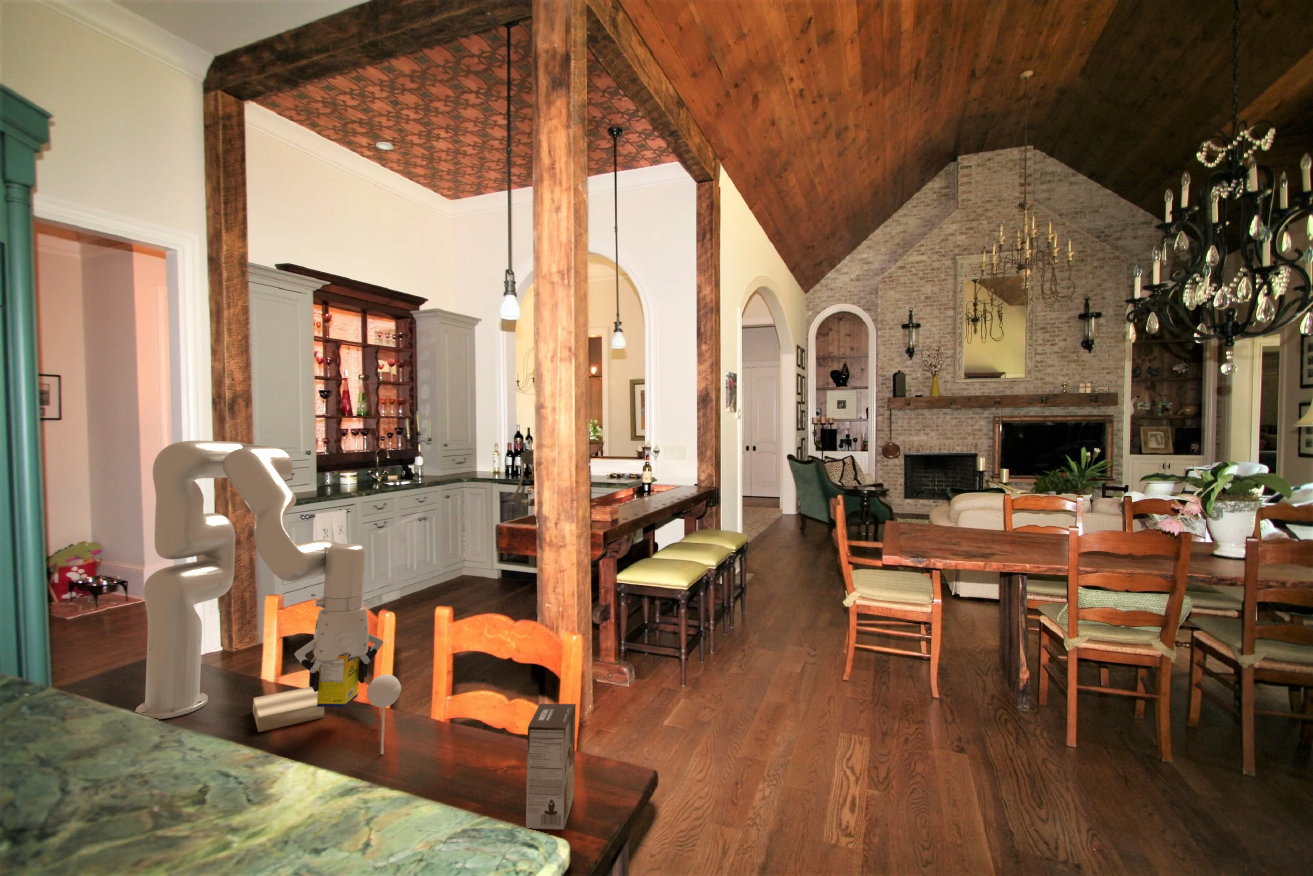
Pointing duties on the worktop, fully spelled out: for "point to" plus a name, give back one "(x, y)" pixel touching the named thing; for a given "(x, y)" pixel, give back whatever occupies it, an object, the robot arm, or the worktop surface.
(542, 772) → the coffee box
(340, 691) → the supplement box
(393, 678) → the lollipop
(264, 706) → the block
